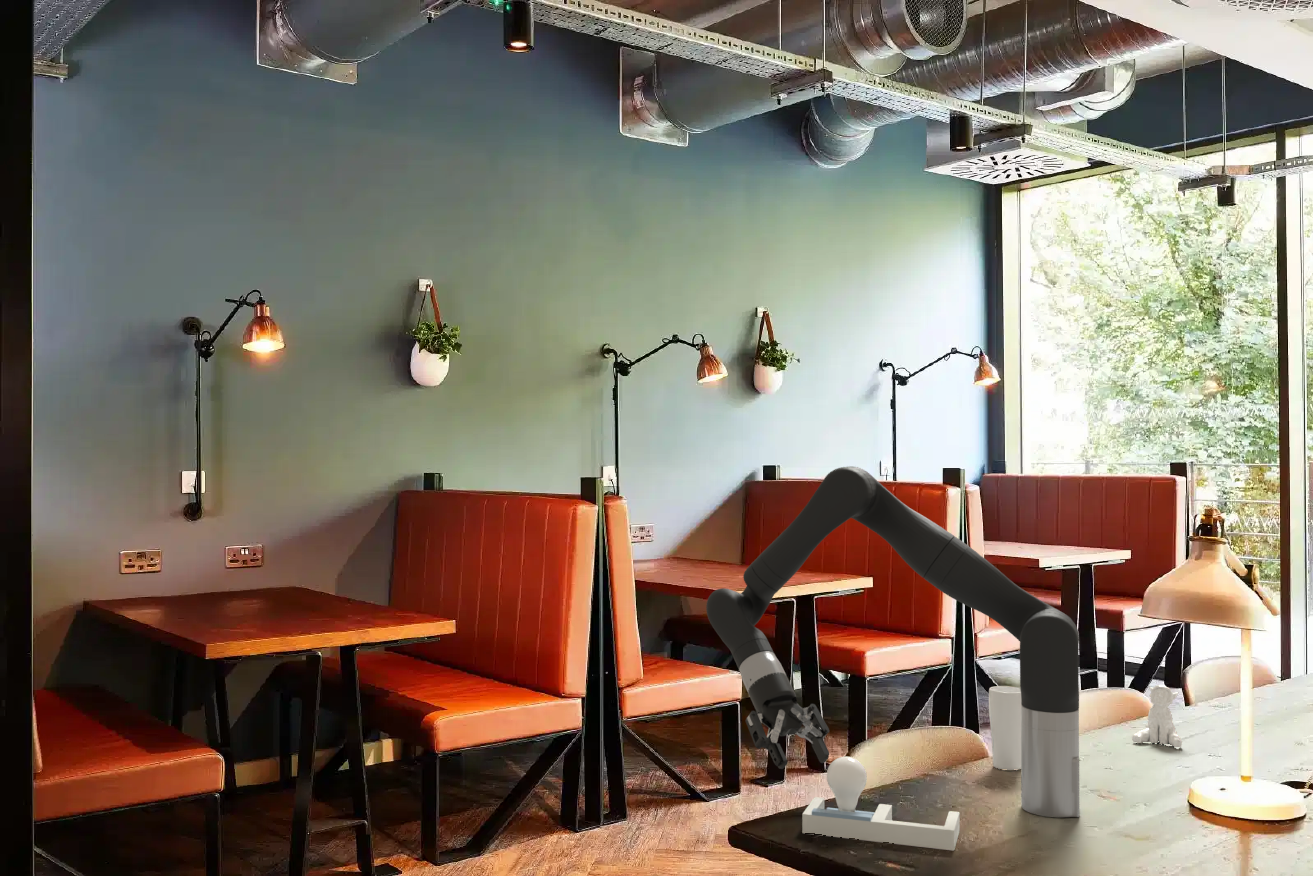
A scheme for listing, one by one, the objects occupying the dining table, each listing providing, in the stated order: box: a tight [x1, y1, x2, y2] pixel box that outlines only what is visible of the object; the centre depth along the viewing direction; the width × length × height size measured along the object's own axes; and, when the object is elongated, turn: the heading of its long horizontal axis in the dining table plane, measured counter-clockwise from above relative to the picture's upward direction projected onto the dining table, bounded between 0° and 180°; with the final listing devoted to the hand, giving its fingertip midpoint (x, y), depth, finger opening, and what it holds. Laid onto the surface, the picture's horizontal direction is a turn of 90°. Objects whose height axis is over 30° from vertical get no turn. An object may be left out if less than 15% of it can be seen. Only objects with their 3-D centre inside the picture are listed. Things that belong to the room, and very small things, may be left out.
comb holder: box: [801, 796, 961, 851], centre depth 182 cm, size 23×11×4 cm, turn 70°
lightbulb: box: [826, 755, 868, 813], centre depth 184 cm, size 6×6×11 cm
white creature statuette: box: [1131, 684, 1183, 748], centre depth 240 cm, size 10×9×12 cm
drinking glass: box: [988, 685, 1021, 770], centre depth 219 cm, size 7×7×15 cm
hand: (804, 763), depth 194 cm, fingers open, 8 cm apart
